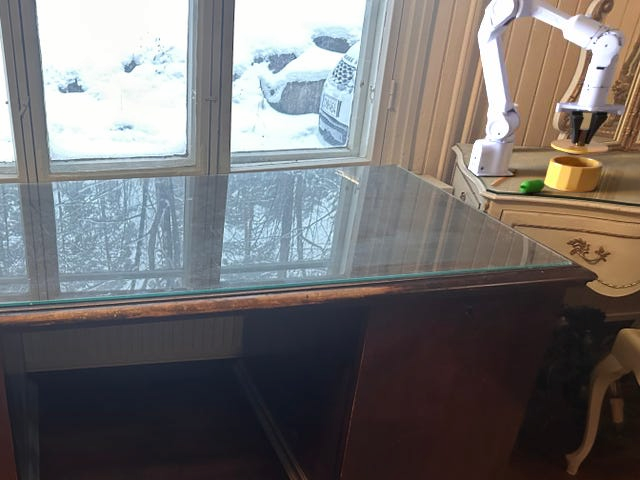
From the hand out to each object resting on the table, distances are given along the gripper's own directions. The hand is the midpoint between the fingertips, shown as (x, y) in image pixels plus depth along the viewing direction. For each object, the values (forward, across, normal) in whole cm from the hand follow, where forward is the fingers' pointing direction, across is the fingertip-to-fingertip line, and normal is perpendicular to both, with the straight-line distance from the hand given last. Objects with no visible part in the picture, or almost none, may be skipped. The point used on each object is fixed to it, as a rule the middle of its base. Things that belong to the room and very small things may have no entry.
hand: (579, 143), depth 170 cm
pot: (+10, 0, -1) cm, 10 cm away
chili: (+10, -10, -9) cm, 17 cm away
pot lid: (+1, 0, 0) cm, 1 cm away
